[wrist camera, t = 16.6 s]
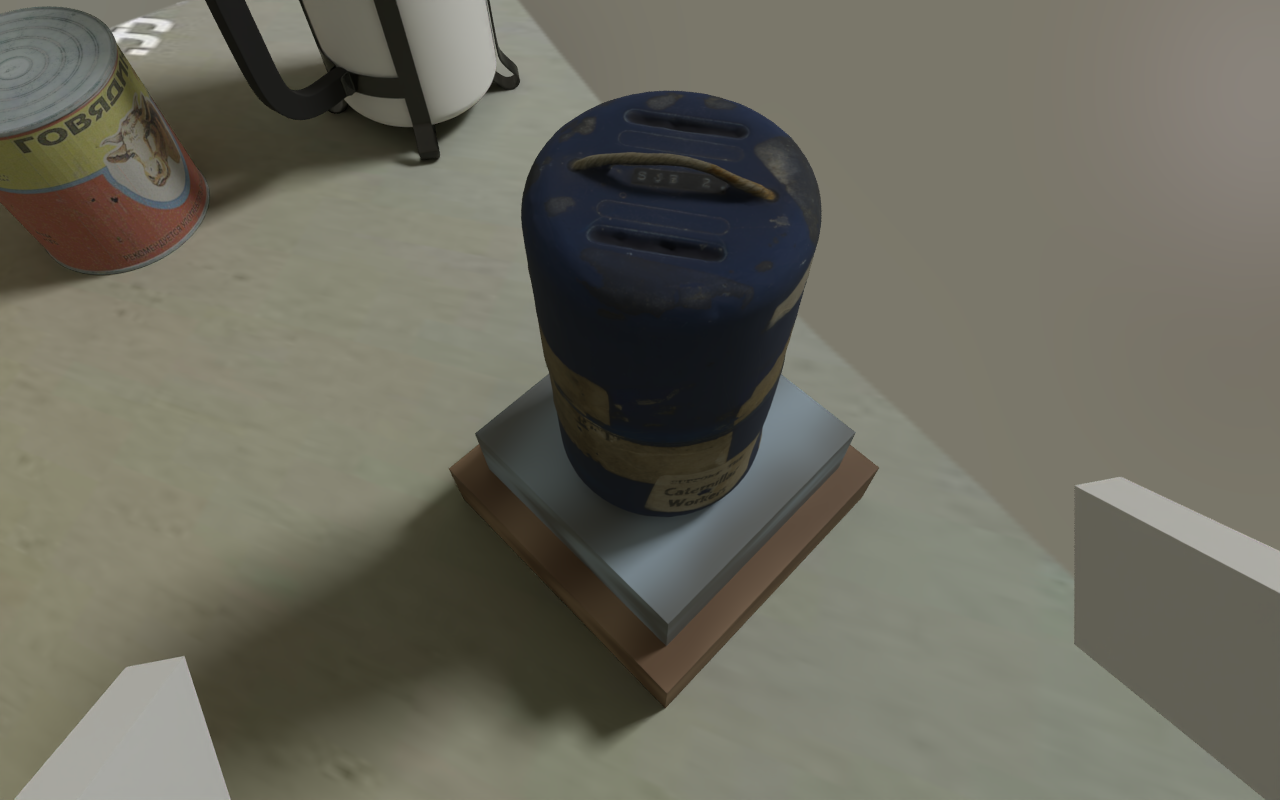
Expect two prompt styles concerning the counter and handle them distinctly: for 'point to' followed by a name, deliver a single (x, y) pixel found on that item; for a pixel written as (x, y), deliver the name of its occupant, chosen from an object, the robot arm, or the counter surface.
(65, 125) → the canned food
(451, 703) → the counter surface
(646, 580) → the metal-topped wooden base
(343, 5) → the coffee press
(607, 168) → the canister
